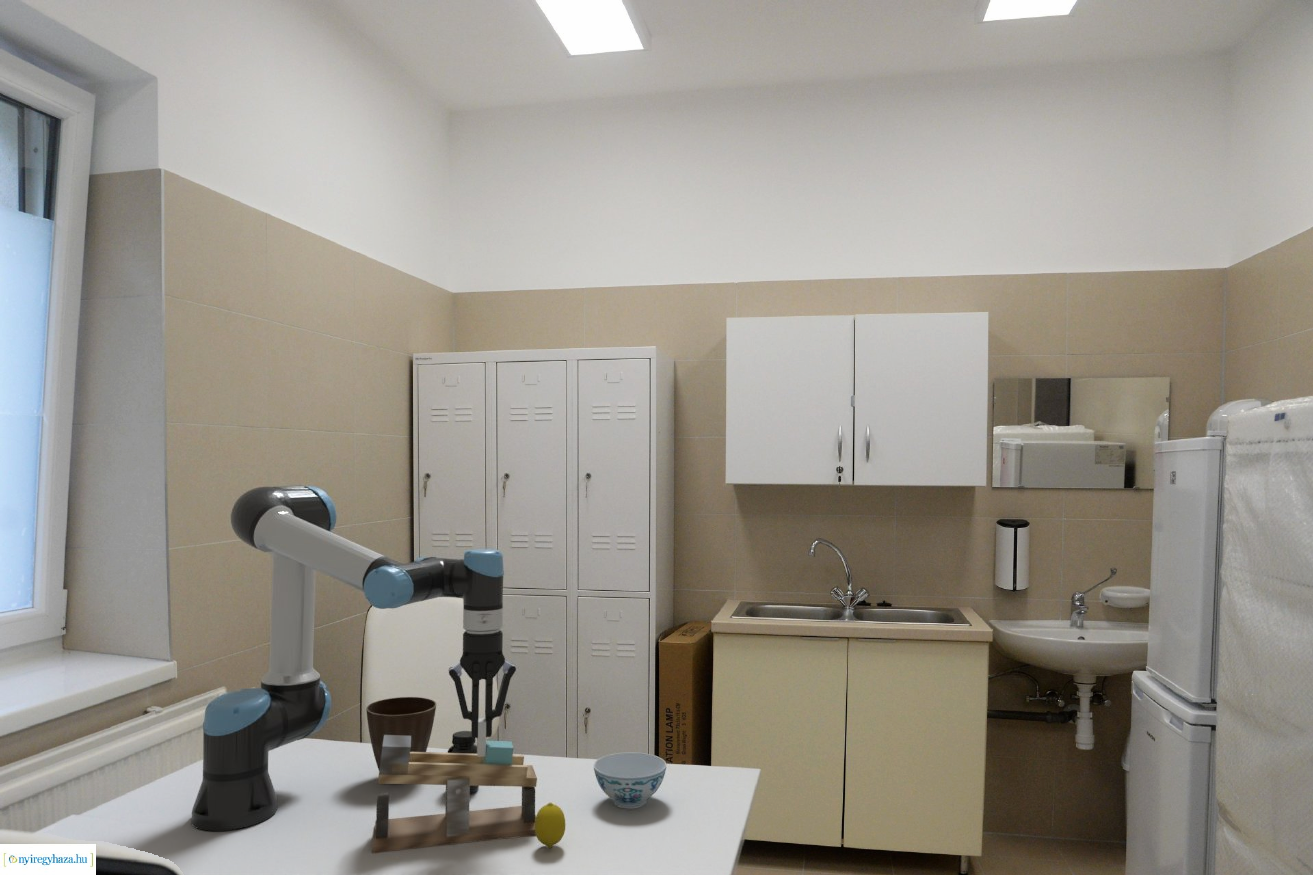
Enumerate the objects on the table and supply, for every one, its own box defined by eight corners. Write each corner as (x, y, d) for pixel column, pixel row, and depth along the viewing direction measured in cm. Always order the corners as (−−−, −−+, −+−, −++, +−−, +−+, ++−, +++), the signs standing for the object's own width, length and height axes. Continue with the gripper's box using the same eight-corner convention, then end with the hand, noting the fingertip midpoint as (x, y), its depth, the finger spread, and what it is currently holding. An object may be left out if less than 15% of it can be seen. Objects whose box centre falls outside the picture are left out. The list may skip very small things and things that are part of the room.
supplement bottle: (471, 798, 178) (471, 739, 179) (440, 795, 180) (441, 737, 180) (484, 786, 185) (484, 729, 186) (454, 783, 187) (455, 727, 187)
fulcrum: (371, 852, 153) (372, 790, 153) (375, 825, 165) (376, 767, 165) (540, 834, 161) (540, 774, 161) (532, 809, 172) (532, 754, 173)
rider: (483, 773, 163) (487, 746, 163) (482, 766, 166) (485, 740, 167) (510, 774, 164) (513, 747, 164) (508, 767, 168) (511, 741, 168)
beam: (377, 783, 156) (382, 746, 156) (379, 769, 163) (384, 734, 163) (536, 786, 163) (540, 751, 164) (531, 773, 170) (535, 739, 171)
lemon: (550, 838, 159) (550, 794, 160) (571, 846, 156) (571, 802, 156) (528, 848, 155) (528, 803, 155) (549, 857, 151) (549, 811, 152)
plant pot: (410, 761, 200) (411, 692, 201) (448, 777, 190) (449, 704, 191) (351, 779, 189) (353, 705, 190) (389, 796, 179) (390, 719, 180)
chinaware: (677, 795, 180) (677, 758, 181) (647, 822, 167) (647, 781, 167) (614, 784, 187) (614, 748, 187) (580, 808, 173) (580, 770, 173)
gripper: (448, 635, 160) (446, 763, 159) (519, 632, 163) (517, 757, 162) (447, 628, 167) (445, 750, 166) (514, 625, 171) (513, 745, 170)
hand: (481, 753), depth 164 cm, fingers closed
